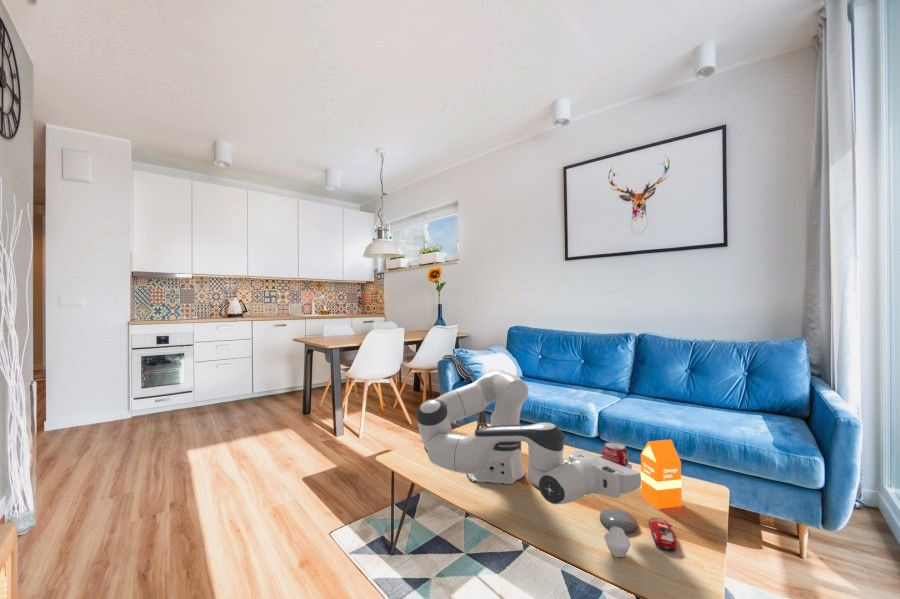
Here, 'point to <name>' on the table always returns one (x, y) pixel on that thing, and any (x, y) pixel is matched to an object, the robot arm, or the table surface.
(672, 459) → the orange juice
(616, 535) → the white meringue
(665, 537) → the race car
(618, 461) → the soda can
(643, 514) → the table surface
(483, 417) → the eiffel tower
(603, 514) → the grey rounded flat dome
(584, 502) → the table surface
